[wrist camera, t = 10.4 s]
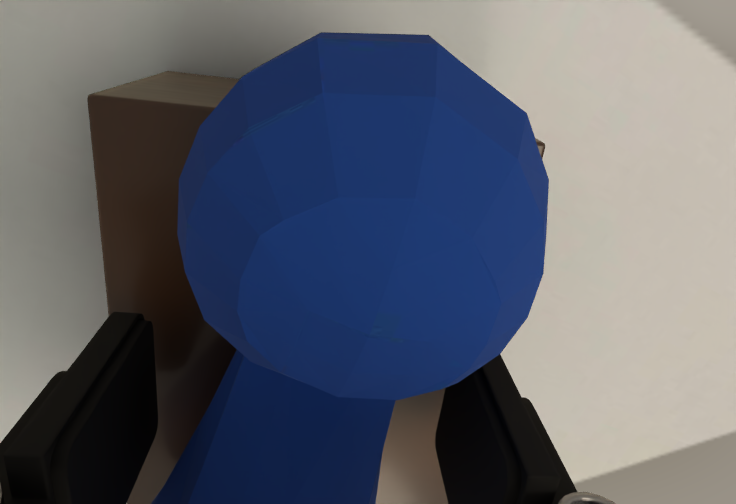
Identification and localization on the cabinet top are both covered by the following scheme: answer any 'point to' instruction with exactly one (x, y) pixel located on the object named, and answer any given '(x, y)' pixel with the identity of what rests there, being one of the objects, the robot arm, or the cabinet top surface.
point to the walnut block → (173, 291)
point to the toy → (349, 258)
